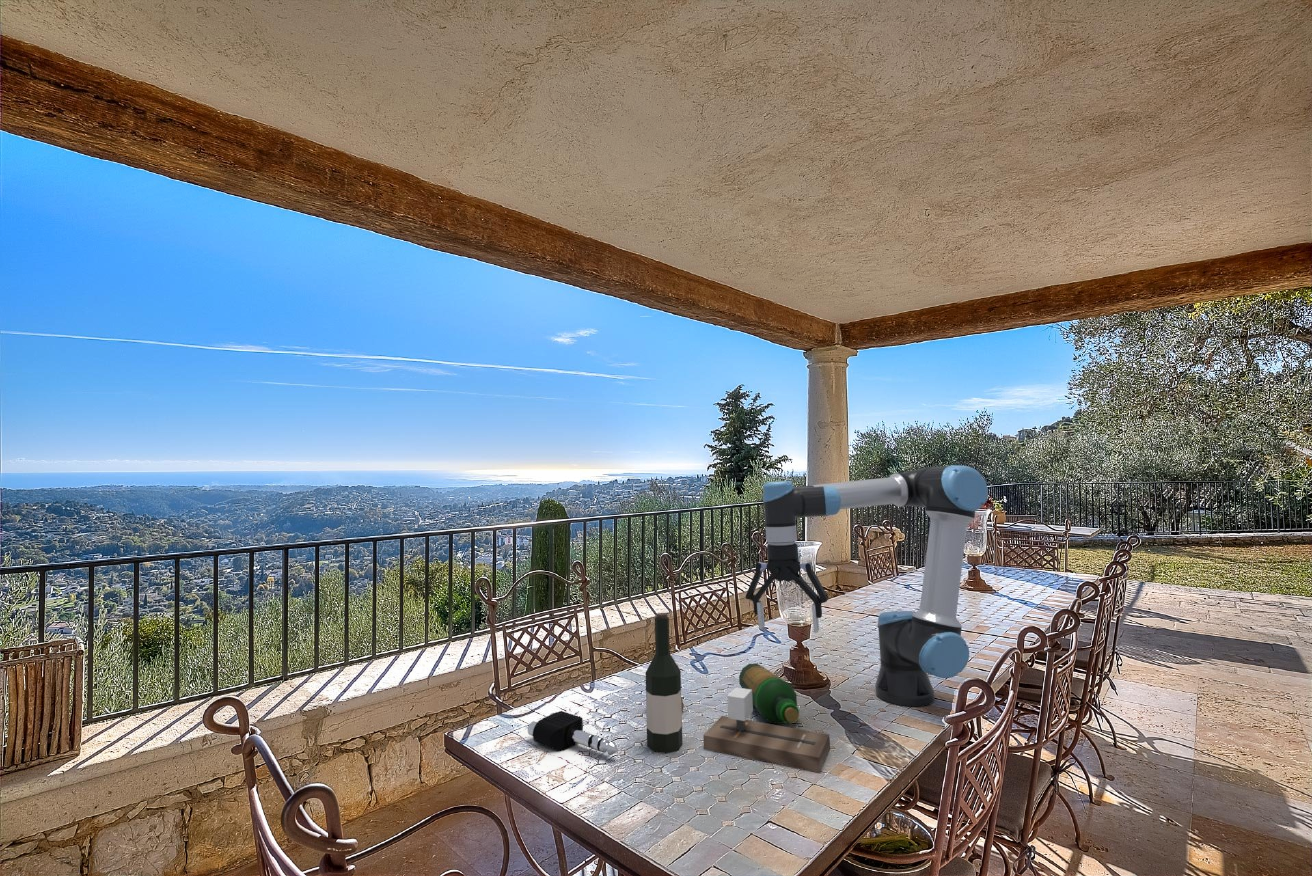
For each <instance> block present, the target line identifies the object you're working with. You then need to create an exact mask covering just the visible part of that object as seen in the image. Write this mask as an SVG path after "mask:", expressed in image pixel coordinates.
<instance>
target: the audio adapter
mask: <svg viewBox="0 0 1312 876" xmlns="http://www.w3.org/2000/svg"><path fill="white" fill-rule="evenodd" d="M583 719H584V718H583V717H582V716H578V715H575V714H572V713H569V712H566V711H563V710H560V711H556V712H551V713H550V714H549V715H547V716H545V717H543V718H542V719H540V720H538V721H535V720H533V721H532V722H530V723H529V724H528V726H527V734H528V735H529V736H531V737H532V738H533V739H532V740H533V741H534V742H535V743H538V745H539V744H540V745H542V746H544V747H547V748H550V749H553V750H555V751H558V752H564V751H565V750H567V749H569V748H571V747H574V746H576V745H577V744H578V745H581V746H584V747H587V748H590V749H593V750H595V751H598V752H600V753H604V754H605V753H607V754H608V755H609V756H612V755H614V754H615V753H617V752H619V748H618V746H617V745H616V742H615V741H611V742H610V740H608V739H606V738H604V737H600V736H598V735H595V734H592V733H590V732H589V733H588V732H586V731H584V721H583Z"/></svg>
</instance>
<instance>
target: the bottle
mask: <svg viewBox="0 0 1312 876" xmlns="http://www.w3.org/2000/svg"><path fill="white" fill-rule="evenodd" d="M738 680H739V686H740V688H744V689H751V690H752V701H753V706H754V707H755V708H756V710H757V712H758V713H759V714H760V715H761V717H762V718H763V719H764V720H765V721H768V722H770V723H771V724H782V723H786V724H794V723H795V722H797V721H798V719H799V718H800V711H799V710H800V709H799V708H798V700H797V699H798V697H797V696H798V695H797V693H796V691H795V690H794V688H793V686H792V685H791V684H790V683H789V682H787V681H786V680H784V679H783V678H781V677H780V676H778V675H776V674H775V673H773V672H772V671H770V670H769V669H768V668H765V667H764V666H763V665H761V664H759V663H748V664H747V665H745V666H744V667H742V669H741V671H740V673H739V676H738Z"/></svg>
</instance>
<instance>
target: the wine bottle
mask: <svg viewBox="0 0 1312 876" xmlns="http://www.w3.org/2000/svg"><path fill="white" fill-rule="evenodd" d="M654 645H655V646H654V647H655V654H654V656H653V658H652V660H651V662H650V663H649V665H648V667H647V669H646V671H645V705H646V706H645V711H646V717H645V719H646V747H647V748H648V749H650V750H651V752H653V753H657V754H671V753H675V752H678V751H680V750H681V747H682V745H683V744H684V743H683V715H682V714H683V713H682V712H683V710H682V704H681V697H682V678H681V677H682V676H681V675H682V674H681V673H682V672H681V669H680V668H679V665H678V664H677V662H676V661H675V660H674V657H673V656H672V654H671V653H670V651H671V650H670V649H671V648H670V647H671V646H670V617H669V616H668V613H666V612H659V613H658V612H657V613H656V616H655V617H654Z"/></svg>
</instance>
